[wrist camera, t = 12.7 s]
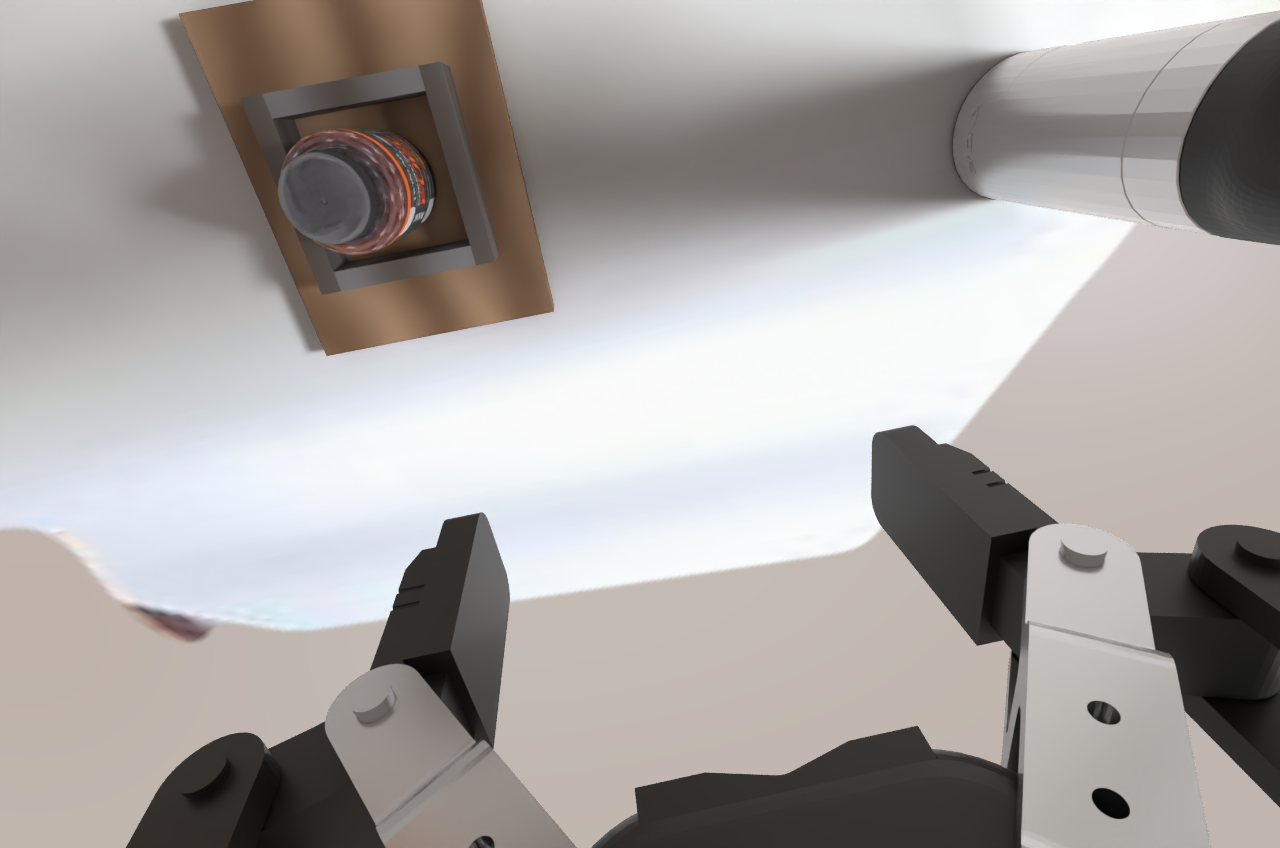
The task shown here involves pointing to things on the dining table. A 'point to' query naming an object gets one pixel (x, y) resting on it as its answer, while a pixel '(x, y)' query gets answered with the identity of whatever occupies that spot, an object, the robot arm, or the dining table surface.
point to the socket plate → (407, 106)
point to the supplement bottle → (356, 188)
